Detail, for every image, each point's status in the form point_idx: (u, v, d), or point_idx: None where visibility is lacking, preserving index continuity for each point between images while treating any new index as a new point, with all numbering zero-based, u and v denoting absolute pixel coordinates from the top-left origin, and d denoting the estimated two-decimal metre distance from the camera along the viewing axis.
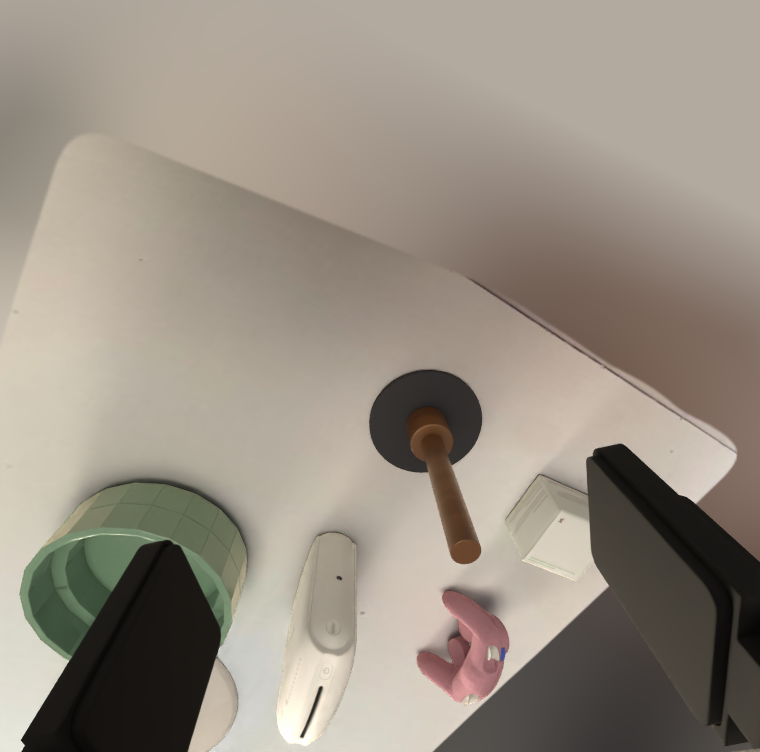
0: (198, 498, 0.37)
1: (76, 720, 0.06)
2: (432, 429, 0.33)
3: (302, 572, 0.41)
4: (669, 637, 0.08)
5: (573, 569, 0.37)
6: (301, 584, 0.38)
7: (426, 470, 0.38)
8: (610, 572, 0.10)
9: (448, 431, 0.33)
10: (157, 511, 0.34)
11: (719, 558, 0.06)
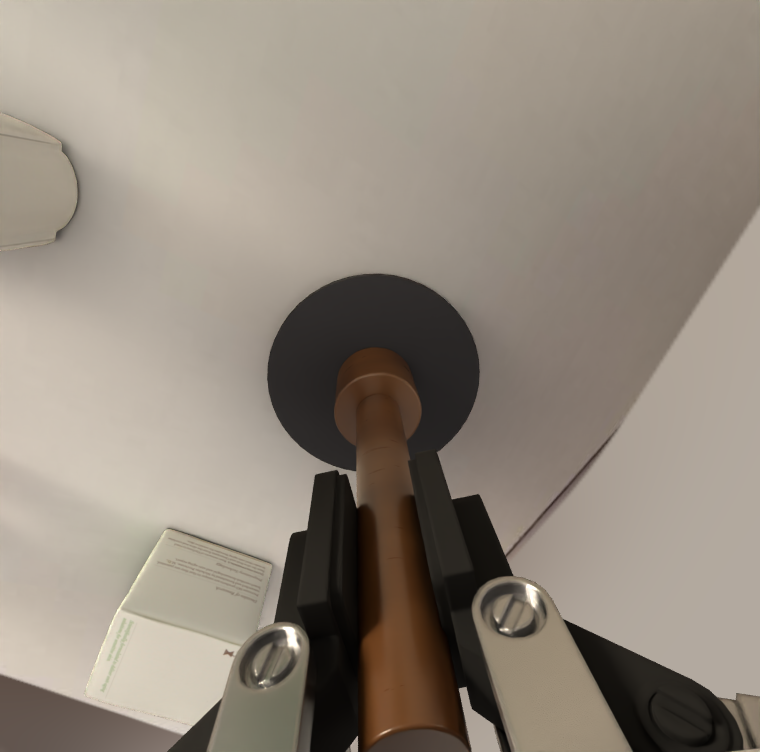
0: None
1: (334, 594, 0.08)
2: (410, 412, 0.17)
3: None
4: None
5: (114, 687, 0.19)
6: None
7: (273, 388, 0.19)
8: None
9: None
10: None
11: (446, 546, 0.08)
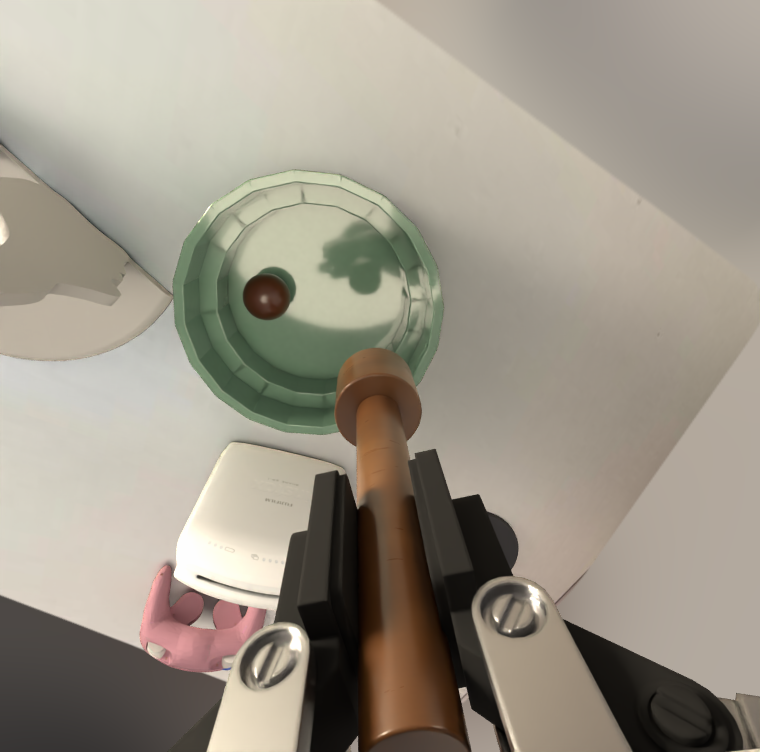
0: None
1: (334, 594, 0.08)
2: (410, 413, 0.17)
3: (296, 456, 0.35)
4: None
5: None
6: (305, 475, 0.33)
7: None
8: None
9: None
10: None
11: (446, 546, 0.08)
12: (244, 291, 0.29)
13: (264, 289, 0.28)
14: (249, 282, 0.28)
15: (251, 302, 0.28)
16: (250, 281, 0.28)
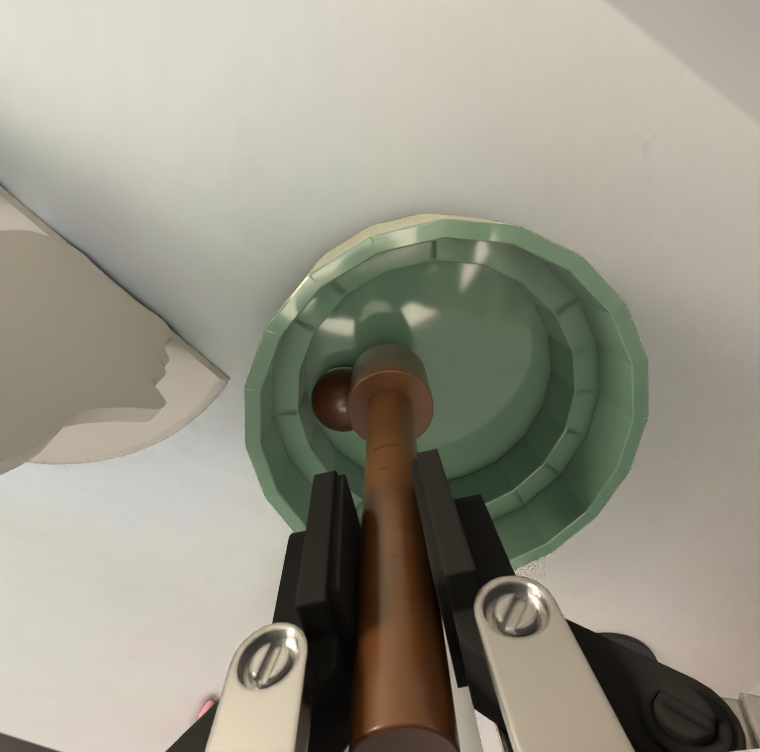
0: None
1: (332, 594, 0.08)
2: (422, 410, 0.17)
3: None
4: None
5: None
6: None
7: None
8: None
9: None
10: None
11: (448, 545, 0.08)
12: (312, 392, 0.21)
13: (326, 409, 0.20)
14: (316, 386, 0.20)
15: (315, 413, 0.21)
16: (317, 385, 0.20)
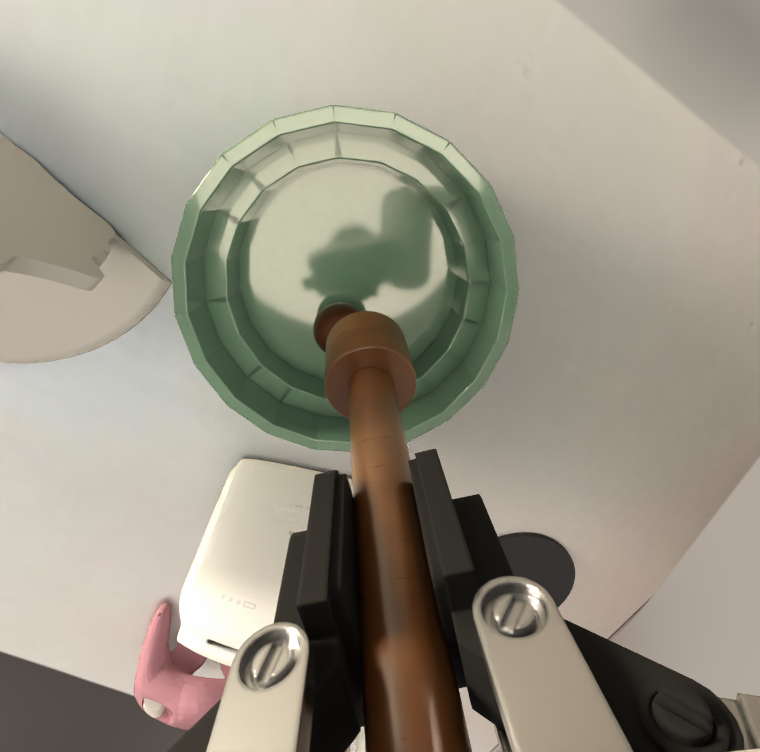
0: None
1: (333, 594, 0.08)
2: (404, 389, 0.16)
3: None
4: None
5: None
6: None
7: None
8: None
9: None
10: None
11: (447, 546, 0.08)
12: None
13: None
14: None
15: None
16: None
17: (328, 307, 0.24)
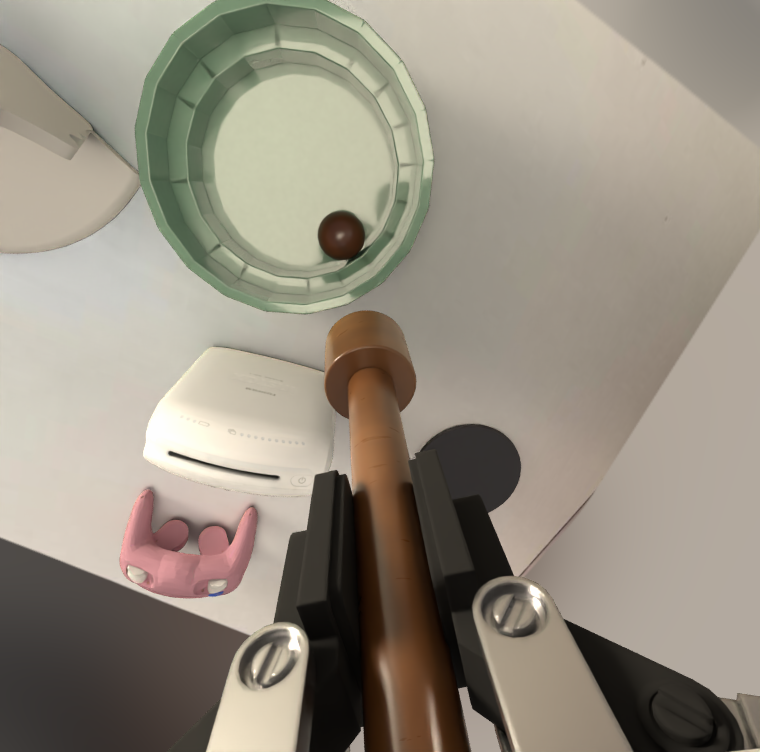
0: None
1: (333, 594, 0.08)
2: (403, 389, 0.16)
3: (281, 361, 0.33)
4: None
5: None
6: (291, 375, 0.31)
7: None
8: None
9: None
10: None
11: (447, 546, 0.08)
12: None
13: None
14: None
15: None
16: None
17: (360, 227, 0.28)
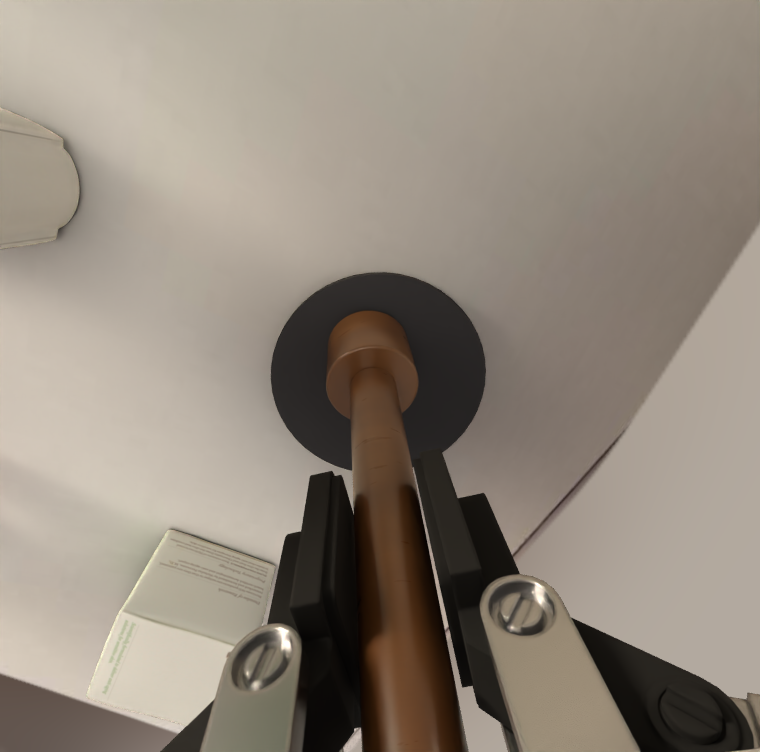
0: None
1: (327, 596, 0.08)
2: (406, 389, 0.16)
3: None
4: None
5: (116, 689, 0.19)
6: None
7: (276, 388, 0.19)
8: None
9: None
10: None
11: (453, 544, 0.08)
12: None
13: None
14: None
15: None
16: None
17: None
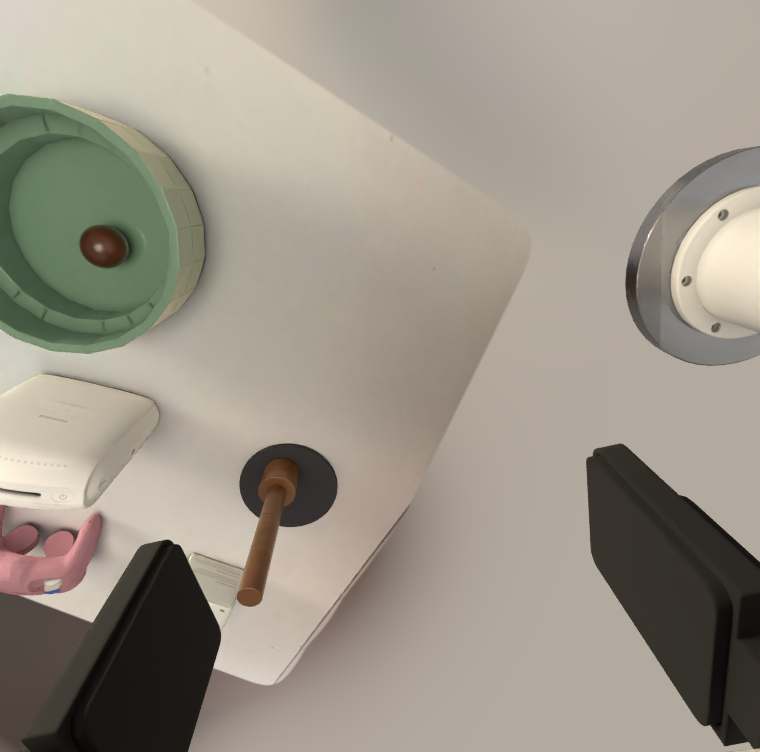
0: (191, 292, 0.35)
1: (76, 720, 0.06)
2: (290, 493, 0.39)
3: (103, 387, 0.38)
4: (669, 637, 0.08)
5: None
6: (101, 401, 0.36)
7: (242, 491, 0.42)
8: (610, 572, 0.10)
9: (287, 504, 0.40)
10: (188, 271, 0.32)
11: (719, 558, 0.06)
12: (112, 266, 0.32)
13: None
14: (118, 265, 0.33)
15: (97, 266, 0.32)
16: None
17: (113, 228, 0.32)
